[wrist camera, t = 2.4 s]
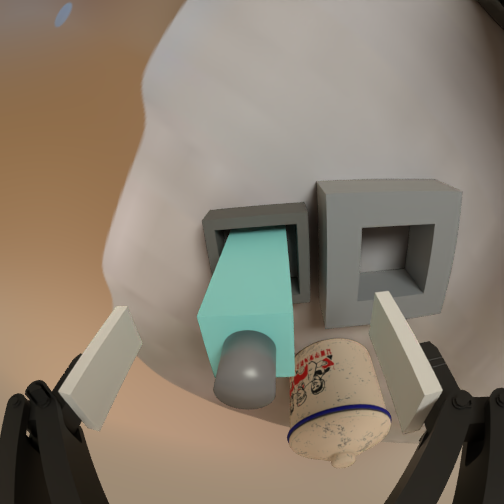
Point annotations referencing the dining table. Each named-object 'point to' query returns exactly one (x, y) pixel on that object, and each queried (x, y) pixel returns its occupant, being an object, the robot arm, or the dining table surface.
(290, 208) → the frame
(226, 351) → the aqua plug
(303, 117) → the dining table surface
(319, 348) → the teacup with lid
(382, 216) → the port panel
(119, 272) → the dining table surface
